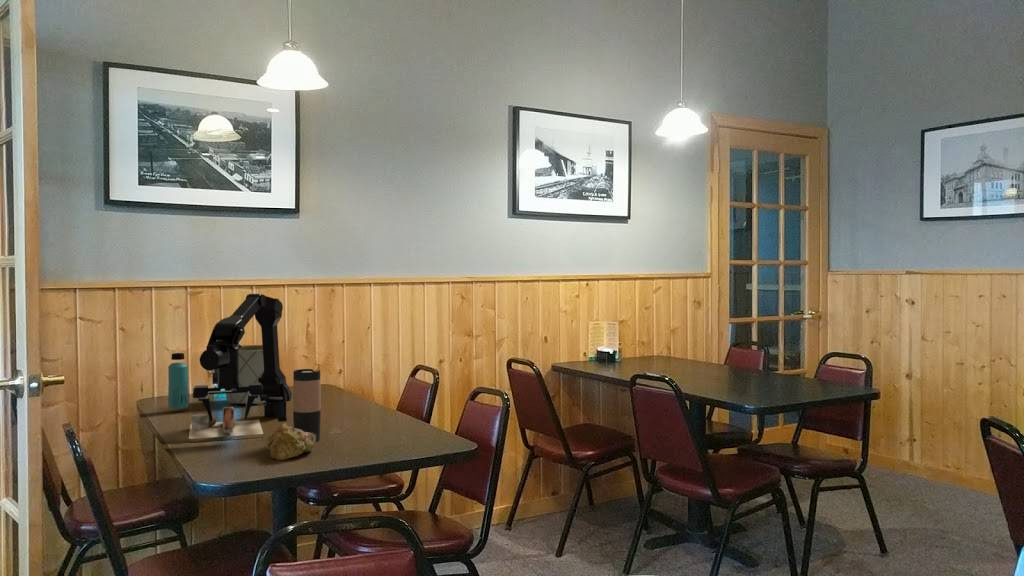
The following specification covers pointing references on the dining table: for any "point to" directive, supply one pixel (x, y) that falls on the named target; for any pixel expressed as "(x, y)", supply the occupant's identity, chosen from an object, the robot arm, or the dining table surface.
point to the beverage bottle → (178, 383)
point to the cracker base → (221, 428)
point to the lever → (228, 419)
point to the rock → (290, 442)
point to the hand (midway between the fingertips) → (228, 420)
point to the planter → (248, 372)
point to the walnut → (212, 421)
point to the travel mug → (307, 401)
